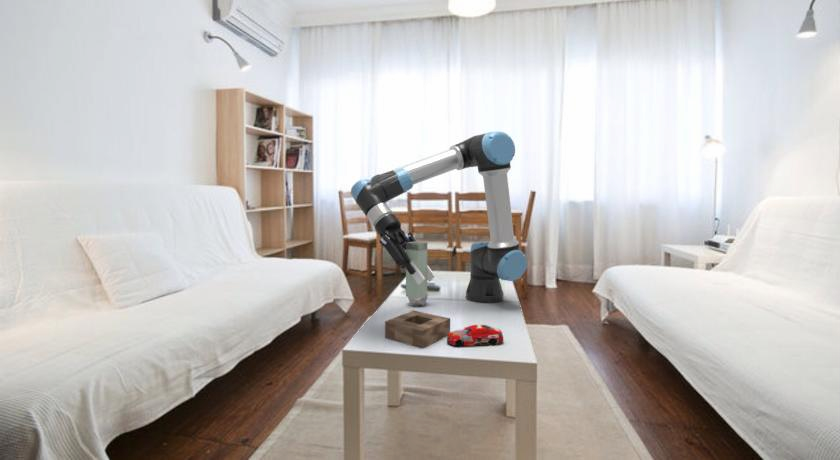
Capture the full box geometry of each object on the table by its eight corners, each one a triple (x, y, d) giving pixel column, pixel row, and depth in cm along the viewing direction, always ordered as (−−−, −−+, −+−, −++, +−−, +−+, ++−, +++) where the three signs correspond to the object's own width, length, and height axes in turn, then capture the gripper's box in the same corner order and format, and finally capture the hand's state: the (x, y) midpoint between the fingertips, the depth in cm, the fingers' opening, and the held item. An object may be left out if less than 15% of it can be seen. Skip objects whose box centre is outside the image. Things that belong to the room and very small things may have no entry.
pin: (415, 293, 129) (415, 241, 127) (427, 295, 126) (427, 242, 124) (405, 296, 125) (406, 242, 123) (418, 298, 122) (418, 243, 121)
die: (420, 310, 156) (434, 288, 158) (401, 298, 157) (414, 276, 159) (420, 312, 164) (433, 291, 166) (401, 300, 165) (414, 279, 167)
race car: (449, 349, 117) (449, 331, 117) (444, 340, 124) (444, 324, 124) (505, 346, 119) (505, 329, 119) (498, 338, 126) (498, 322, 125)
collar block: (413, 325, 136) (413, 310, 136) (450, 334, 128) (450, 318, 128) (385, 337, 125) (384, 321, 125) (423, 348, 117) (423, 330, 117)
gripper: (395, 227, 140) (436, 282, 132) (358, 231, 126) (401, 293, 117) (408, 211, 136) (451, 268, 128) (371, 214, 122) (416, 277, 114)
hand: (427, 280), depth 123 cm, fingers closed on pin, 4 cm apart
